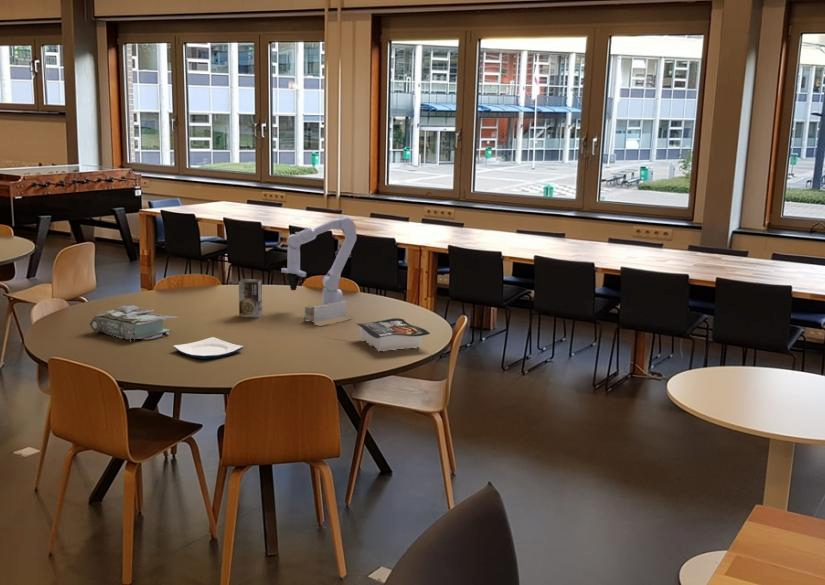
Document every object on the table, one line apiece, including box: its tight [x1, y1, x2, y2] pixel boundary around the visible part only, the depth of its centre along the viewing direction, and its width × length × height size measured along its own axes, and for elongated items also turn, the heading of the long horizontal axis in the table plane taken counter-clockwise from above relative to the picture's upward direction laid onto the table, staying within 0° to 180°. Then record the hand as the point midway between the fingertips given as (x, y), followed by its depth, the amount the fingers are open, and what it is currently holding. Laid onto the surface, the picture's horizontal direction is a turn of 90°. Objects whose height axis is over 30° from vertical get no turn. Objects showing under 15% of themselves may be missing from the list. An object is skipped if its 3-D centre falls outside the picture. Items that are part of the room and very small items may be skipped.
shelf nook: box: [304, 303, 331, 321], centre depth 372 cm, size 14×8×6 cm, turn 141°
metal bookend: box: [313, 300, 347, 324], centre depth 368 cm, size 19×4×8 cm, turn 141°
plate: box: [172, 336, 244, 360], centre depth 316 cm, size 20×20×3 cm
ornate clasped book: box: [89, 304, 178, 343], centre depth 338 cm, size 23×10×30 cm
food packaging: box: [354, 317, 431, 352], centre depth 336 cm, size 25×8×23 cm
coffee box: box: [238, 278, 263, 318], centre depth 373 cm, size 9×6×16 cm
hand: (293, 289), depth 387 cm, fingers closed
